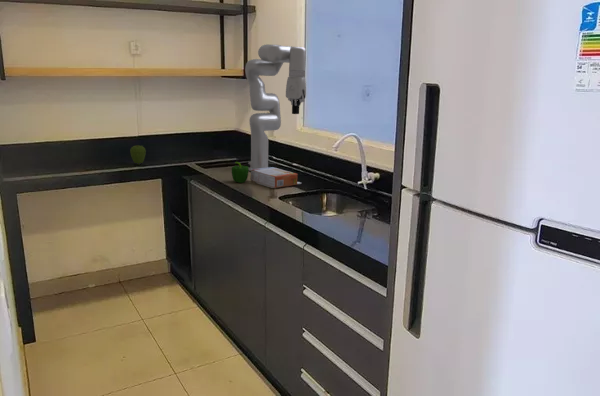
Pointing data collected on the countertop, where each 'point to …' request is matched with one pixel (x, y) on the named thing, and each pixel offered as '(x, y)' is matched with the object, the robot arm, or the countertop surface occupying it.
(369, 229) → the countertop surface
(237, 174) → the bell pepper
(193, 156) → the countertop surface
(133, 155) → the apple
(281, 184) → the cracker box
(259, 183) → the mat
